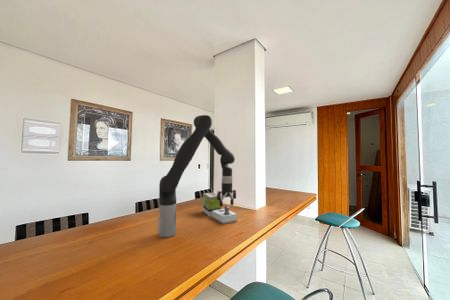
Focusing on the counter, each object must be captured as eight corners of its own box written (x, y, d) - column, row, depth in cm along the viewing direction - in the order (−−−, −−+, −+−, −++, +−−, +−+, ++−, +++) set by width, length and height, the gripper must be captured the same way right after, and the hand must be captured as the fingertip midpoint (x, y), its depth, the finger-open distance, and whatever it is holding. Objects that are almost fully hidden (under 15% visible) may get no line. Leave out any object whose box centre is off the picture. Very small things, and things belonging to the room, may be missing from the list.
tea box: (202, 211, 152) (202, 193, 152) (213, 210, 156) (214, 192, 156) (208, 216, 138) (208, 196, 139) (221, 215, 142) (221, 195, 143)
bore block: (223, 224, 122) (223, 216, 122) (212, 217, 136) (212, 210, 136) (236, 221, 128) (236, 214, 128) (224, 215, 142) (224, 208, 142)
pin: (225, 220, 126) (226, 207, 127) (223, 219, 129) (223, 206, 129) (229, 219, 128) (229, 206, 128) (227, 218, 130) (227, 205, 131)
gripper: (220, 183, 123) (220, 208, 122) (238, 182, 130) (238, 205, 129) (215, 182, 129) (215, 205, 129) (232, 181, 137) (232, 203, 136)
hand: (226, 205), depth 129 cm, fingers open, 8 cm apart
